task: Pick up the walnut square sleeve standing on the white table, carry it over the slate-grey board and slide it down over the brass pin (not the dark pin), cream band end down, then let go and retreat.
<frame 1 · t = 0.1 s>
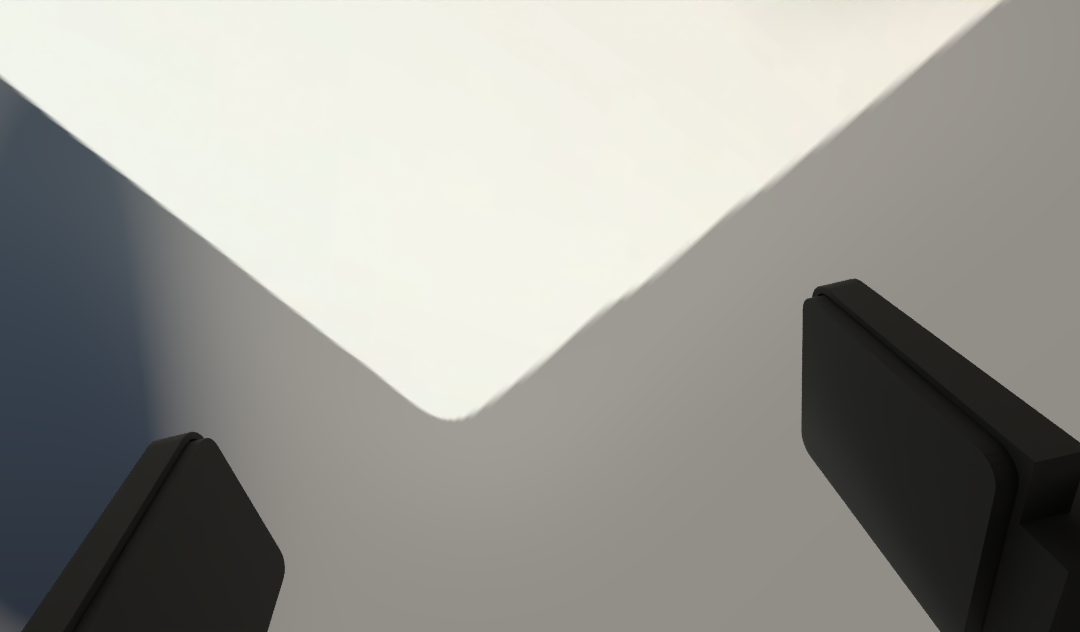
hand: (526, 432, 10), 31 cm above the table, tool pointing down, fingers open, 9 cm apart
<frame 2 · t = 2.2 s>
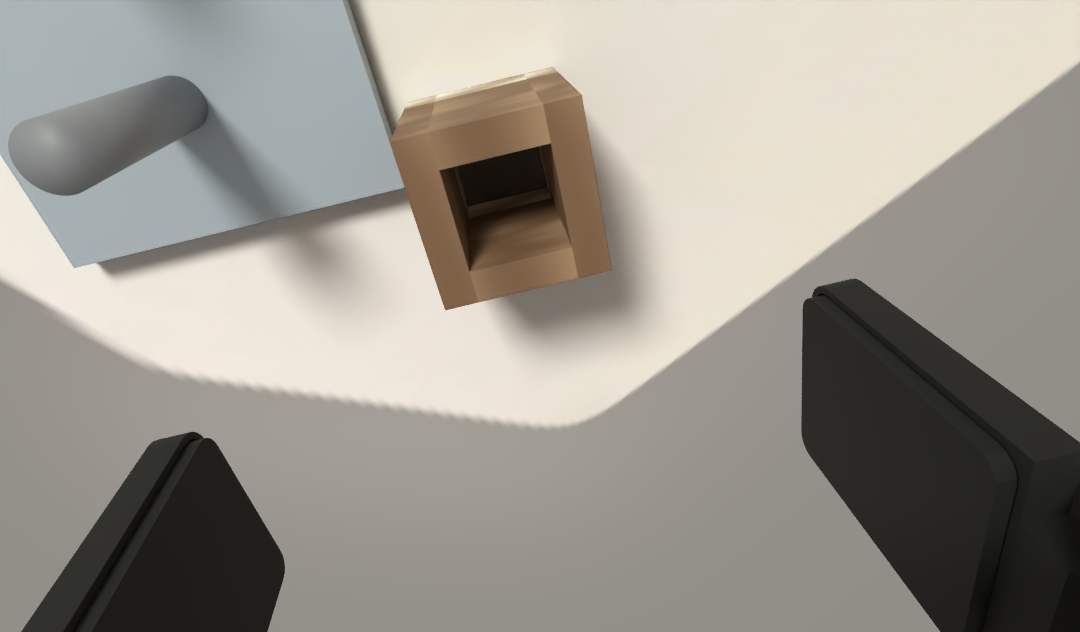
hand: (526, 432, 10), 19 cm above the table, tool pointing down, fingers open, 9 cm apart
sleeve: (497, 157, 26), on the table
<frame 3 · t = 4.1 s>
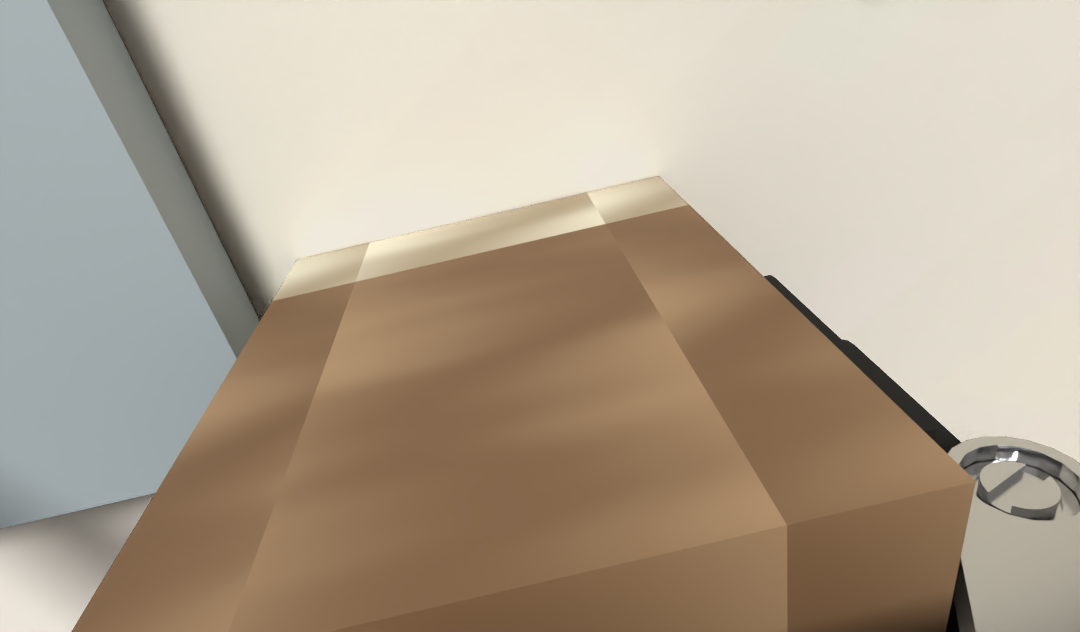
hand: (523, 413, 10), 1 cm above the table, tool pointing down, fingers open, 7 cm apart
sleeve: (517, 368, 11), on the table
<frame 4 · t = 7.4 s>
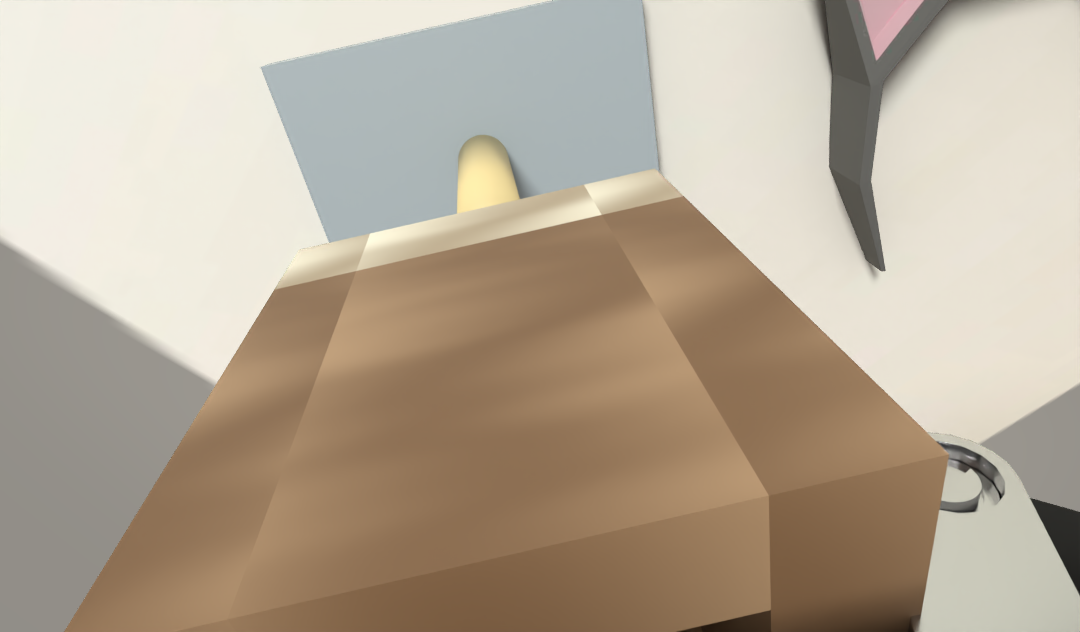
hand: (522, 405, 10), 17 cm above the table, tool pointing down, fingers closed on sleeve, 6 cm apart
sleeve: (515, 358, 12), point 16 cm above the table, touching gripper
headband: (951, 37, 26), on the table
board: (508, 261, 28), on the table
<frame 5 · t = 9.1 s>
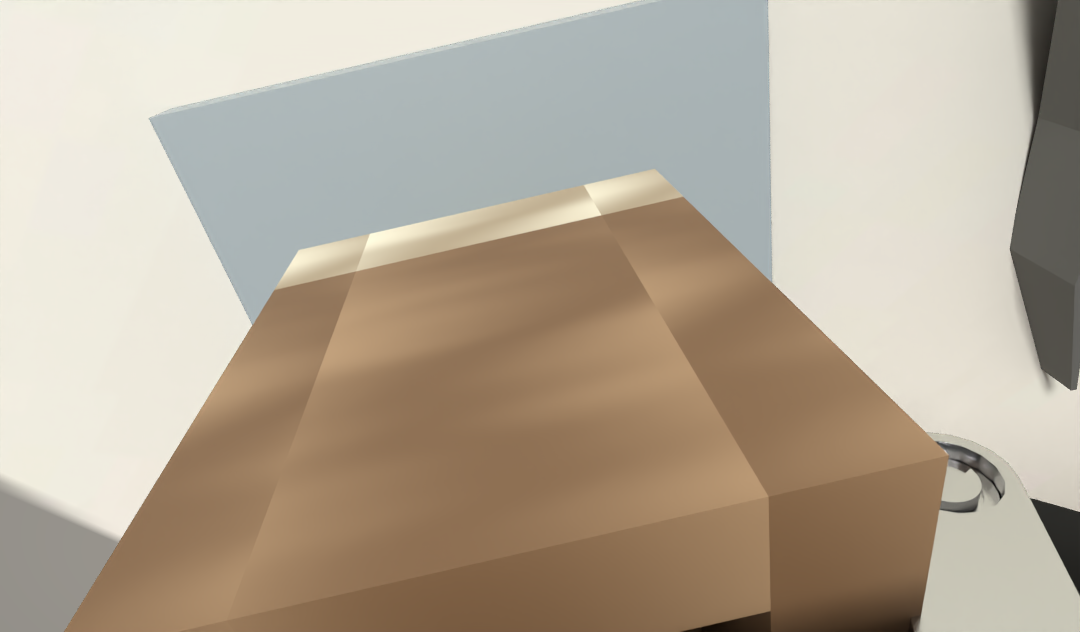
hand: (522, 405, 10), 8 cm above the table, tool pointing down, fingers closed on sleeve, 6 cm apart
sleeve: (515, 358, 12), point 6 cm above the table, touching gripper
board: (540, 379, 19), on the table
when the fingers open (3 cm above the table, at t = 10.4 s): sleeve stays where it is, resting on board.
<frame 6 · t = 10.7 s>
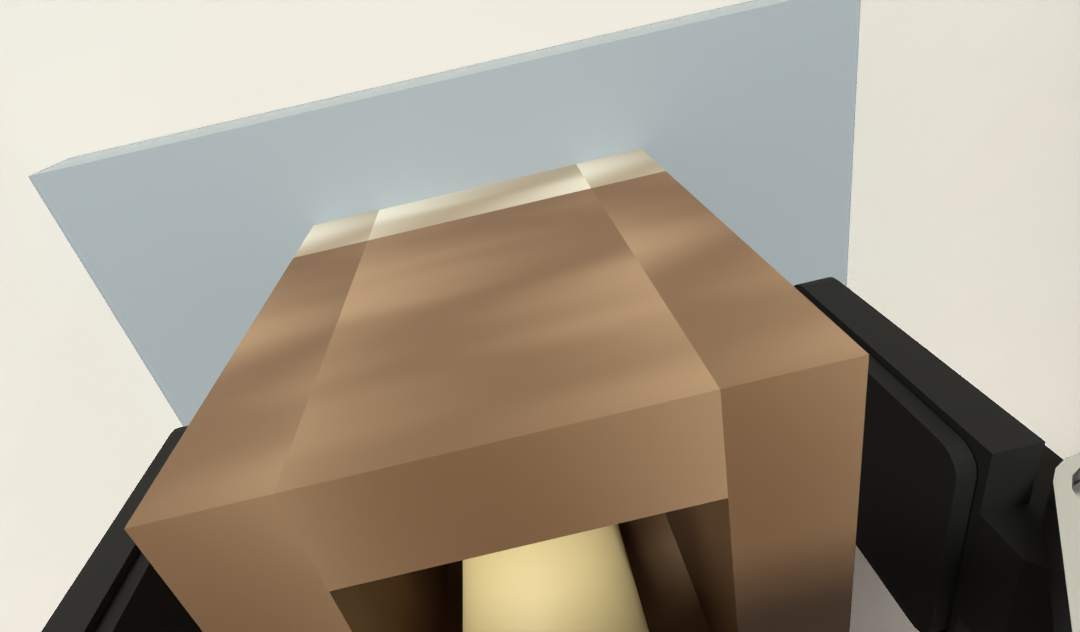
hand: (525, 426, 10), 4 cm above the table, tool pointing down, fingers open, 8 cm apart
sleeve: (514, 329, 12), point 1 cm above the table, touching board
board: (551, 474, 16), on the table
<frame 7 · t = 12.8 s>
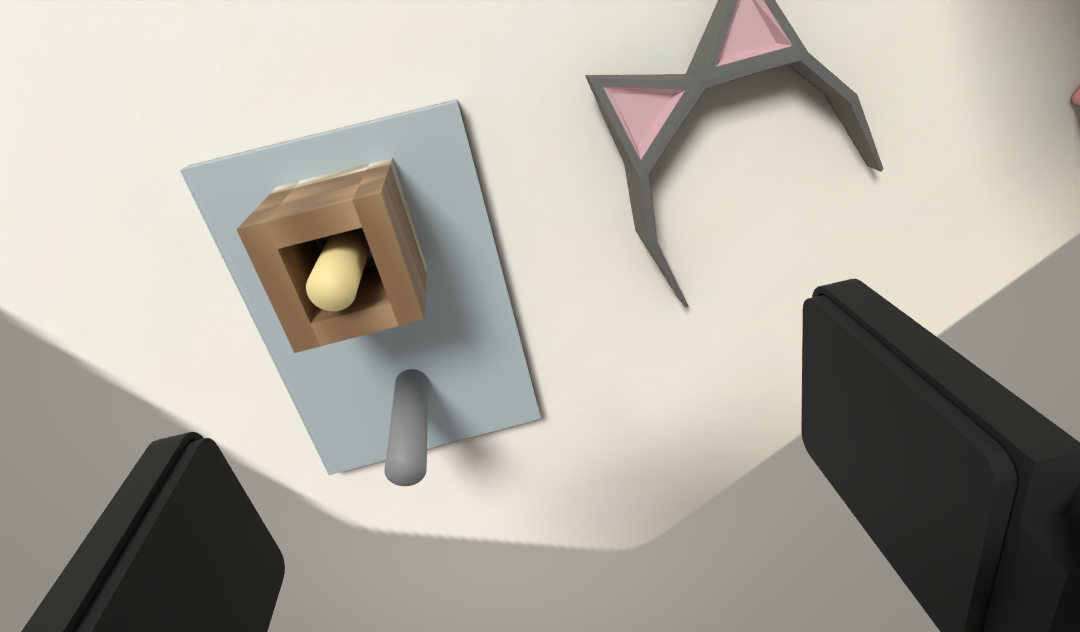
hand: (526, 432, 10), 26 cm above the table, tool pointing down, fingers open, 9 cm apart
sleeve: (355, 227, 33), point 1 cm above the table, touching board
toy: (1074, 108, 37), on the table
headband: (713, 134, 35), on the table
board: (387, 302, 36), on the table
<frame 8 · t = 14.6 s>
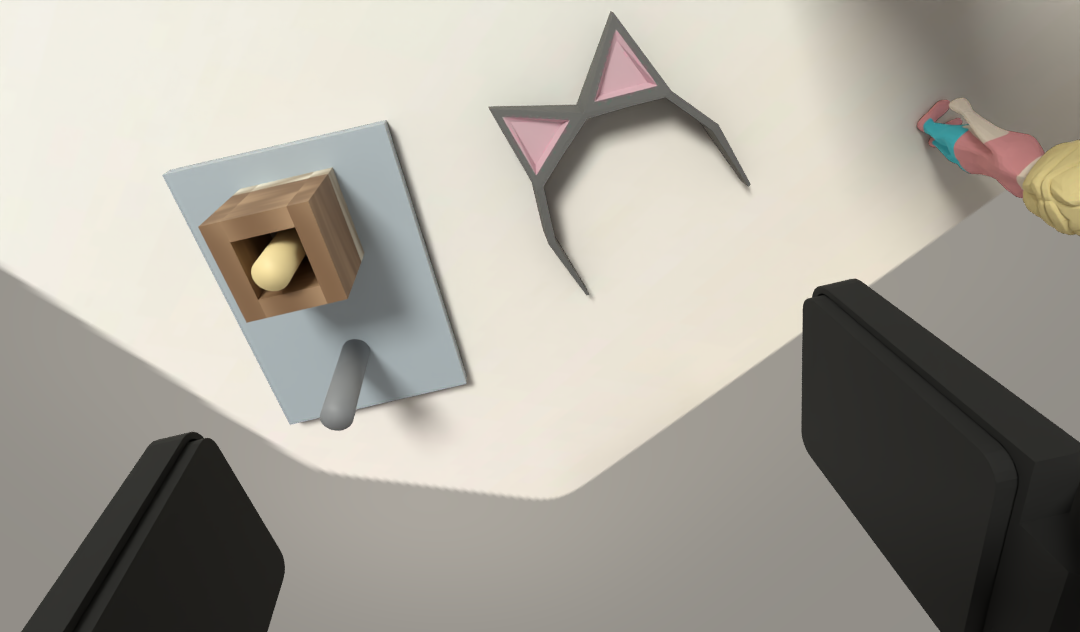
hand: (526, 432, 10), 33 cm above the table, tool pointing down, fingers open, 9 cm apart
sleeve: (304, 222, 40), point 1 cm above the table, touching board
toy: (922, 133, 44), on the table
headband: (606, 152, 42), on the table
board: (334, 283, 44), on the table
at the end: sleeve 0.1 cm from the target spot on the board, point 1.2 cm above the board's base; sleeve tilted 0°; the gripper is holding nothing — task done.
